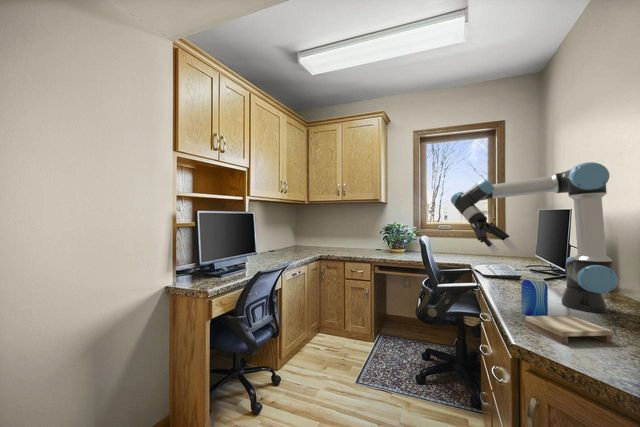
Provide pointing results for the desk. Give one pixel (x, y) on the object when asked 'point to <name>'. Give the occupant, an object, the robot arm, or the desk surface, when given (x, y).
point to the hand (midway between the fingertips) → (506, 251)
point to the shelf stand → (566, 328)
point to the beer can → (534, 297)
